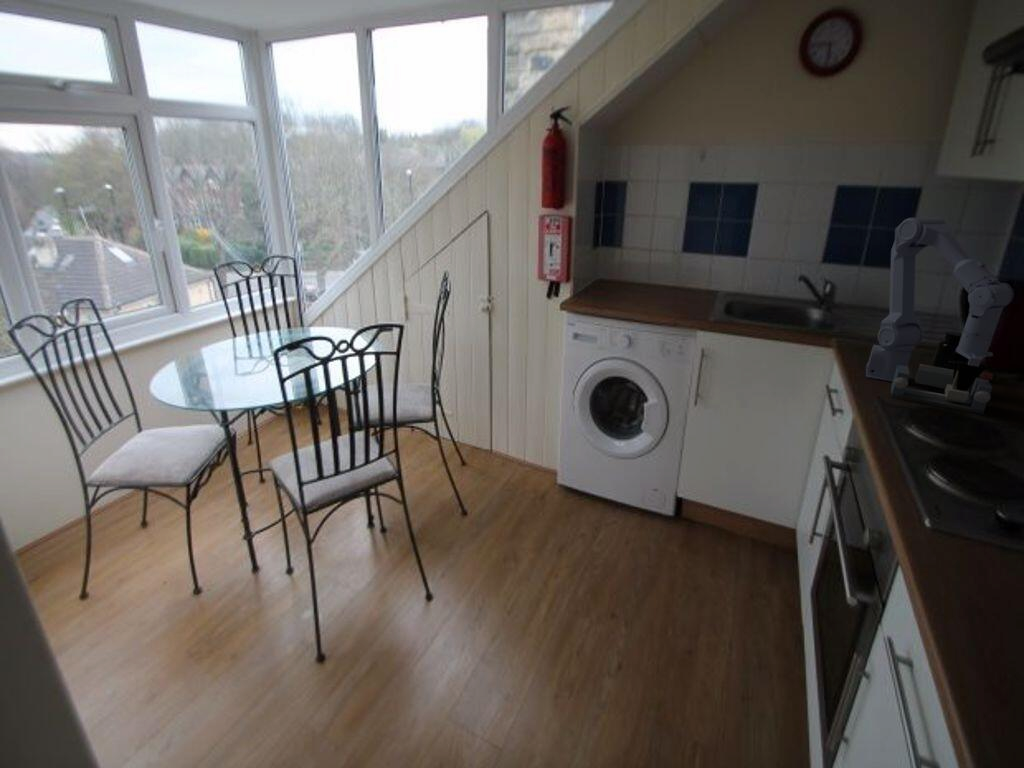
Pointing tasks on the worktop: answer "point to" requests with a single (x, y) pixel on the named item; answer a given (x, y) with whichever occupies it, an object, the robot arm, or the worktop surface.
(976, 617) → the worktop surface
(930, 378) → the skincare box
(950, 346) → the supplement bottle
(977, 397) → the rail stand
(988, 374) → the plunger
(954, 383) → the carriage
